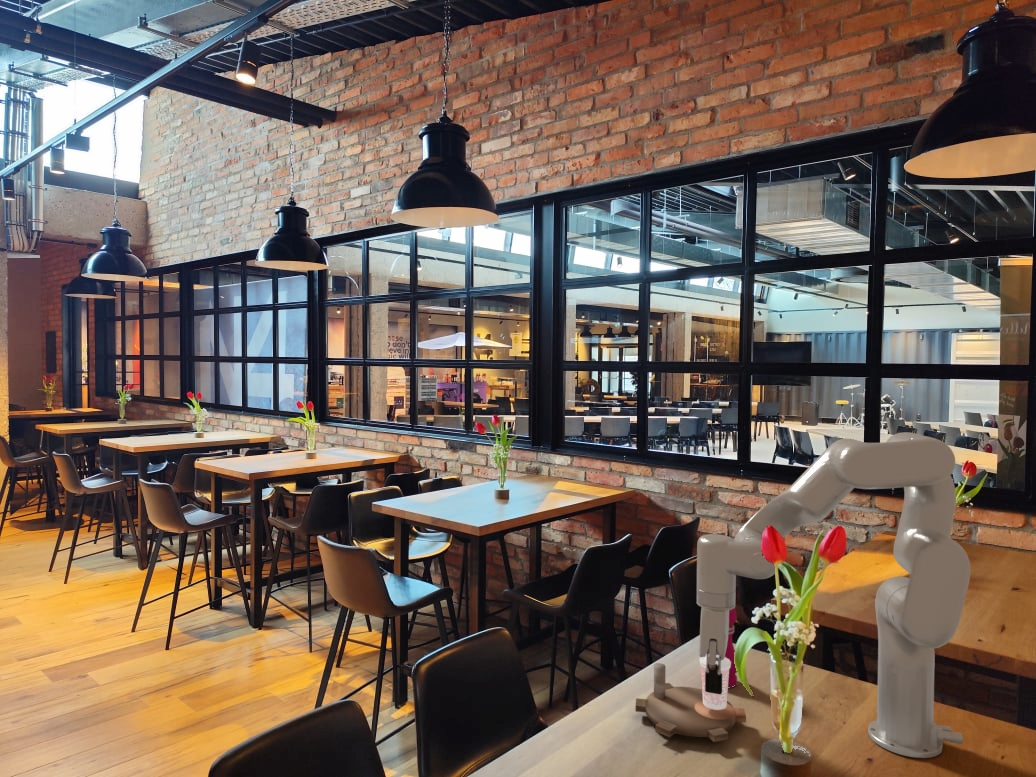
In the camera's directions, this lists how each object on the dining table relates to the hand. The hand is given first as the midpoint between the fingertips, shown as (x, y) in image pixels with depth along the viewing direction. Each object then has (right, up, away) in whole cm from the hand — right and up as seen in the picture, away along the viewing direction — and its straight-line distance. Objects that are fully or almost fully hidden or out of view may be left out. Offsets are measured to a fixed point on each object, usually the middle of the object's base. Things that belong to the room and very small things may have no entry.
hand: (715, 684), depth 138 cm
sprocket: (-5, -7, +2) cm, 8 cm away
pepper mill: (+7, -8, +19) cm, 22 cm away
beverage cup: (0, -4, 0) cm, 4 cm away
